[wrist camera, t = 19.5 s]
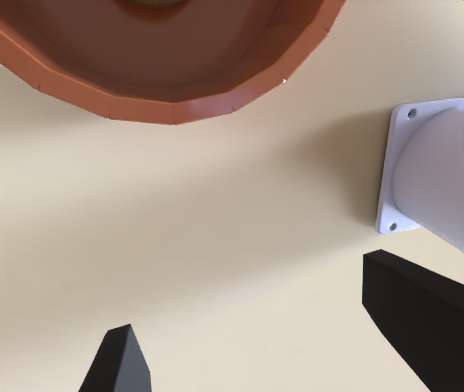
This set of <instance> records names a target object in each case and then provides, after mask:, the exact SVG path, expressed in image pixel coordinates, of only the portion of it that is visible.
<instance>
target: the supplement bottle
mask: <svg viewBox="0 0 464 392" xmlns="http://www.w3.org/2000/svg"><path fill="white" fill-rule="evenodd" d="M126 1H128V2H131V3H134V4H136V5H140V6H146V7H167V6H172V5H175V4H178V3H181V2H183V1H185V0H126Z"/></svg>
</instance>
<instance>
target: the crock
mask: <svg viewBox="0 0 464 392" xmlns="http://www.w3.org/2000/svg"><path fill="white" fill-rule="evenodd" d="M345 2H346V0H185V1H183V2H181V3H178V4H175V5H172V6H167V7H146V6H140V5H136V4H134V3H131V2H128V1H126V0H0V63H1V64H2V65H3V66H5V67H6V68H7V69H9V70H10V71H11V72H13V73H14V74H15V75H17V76H18V77H19V78H21V79H22V80H23V81H25V82H26V83H27V84H29V85H30V86H32V87H33V88H34V89H36V90H37V89H38V91H40V92H42V93H45V94H47V95H49V96H52V97H54V98H57V99H59V100H62V101H64V102H67V103H69V104H72V105H74V106H77V107H79V108H82V109H84V110H87V111H89V112H92V113H94V114H97V115H99V116H102V117H104V118H109V119H111V120H121V121H132V122H142V123H153V124H163V125H180V124H184V123H189V122H193V121H198V120H202V119H207V118H212V117H216V116H221V115H225V114H230V113H233V112H235V111H237V110H239V109H241V108H242V107H244V106H246V105H247V104H249V103H251V102H252V101H254V100H256V99H258V98H259V97H261V96H263V95H264V94H266V93H268V92H269V91H271V90H273V89H274V88H276V87H278V86H280V85H281V84H283V83H284V82H285V81H286V80H287V79H288V78H289V77H290V76H291V75H292V74H293V73H294V72H295V71H296V70H297V68H298V67H299V66H300V65H301V64H302V63H303V62H304V61H305V60H306V59H307V58H308V56H309V55H310V54H311V53H312V52H313V51H314V50H315V49H316V48H317V47H318V46H319V44H320V43H321V42H322V41H323V40H324V39H325V38H326V37H327V35H328V34H327V33H329V32H330V31H331V29H332V27H333V25H334V23H335V21H336V19H337V17H338V15H339V13H340V11H341V9H342V8H343V6H344V4H345Z"/></svg>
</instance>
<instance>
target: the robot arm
mask: <svg viewBox="0 0 464 392" xmlns="http://www.w3.org/2000/svg"><path fill="white" fill-rule="evenodd" d="M410 110H411V113H410V115H409V116H408V112H409V111H410ZM391 224H392V225H391ZM390 225H391V226H390ZM389 226H390V227H389ZM420 227H424V228H426V229H427V230H429V231H431V232H432V233H434V234H435V235H437V236H439V237H440V238H442V239H443V240H445V241H446V242H448V243H450V244H451V245H453V246H454V247H456V248H458V249H459V250H461V251H462V252H464V97H461V98H452V99H443V100H435V101H426V102H417V103H409V104H401V105H398V106H396V107H395V108H394V110H393V111H392V114H391V121H390V128H389V134H388V141H387V148H386V155H385V162H384V169H383V176H382V183H381V190H380V197H379V204H378V211H377V218H376V225H375V230H376V231H377V232H378V233H379V234H381V235H385V234H390V233H395V232H400V231H405V230H410V229H415V228H420ZM362 304H363V306H364V307H365V309H366V310H367V312H368V314H369V315H370V317H371V318H372V320H373V321H374V323H375V324H376V326H377V327H378V329H379V330H380V332H381V333H382V334H383V335H384V337H385V338H386V339H387V340H388V342H389V343H390V344H391V345H392V346H393V347H394V349H395V350H396V351H397V352H398V353H399V355H400V356H401V357H402V358H403V359H404V361H405V362H406V363H407V364H408V365H409V366H410V368H411V369H412V370H413V371H414V372H415V374H416V375H417V376H418V377H419V378H420V379H421V381H422V382H423V383H424V384H425V385H426V386H427V388H428V389H429V390H430V391H431V392H464V285H463V284H461V283H459V282H456V281H454V280H452V279H449V278H447V277H445V276H442V275H440V274H438V273H435V272H433V271H431V270H428V269H426V268H424V267H422V266H419V265H417V264H415V263H413V262H410V261H408V260H406V259H404V258H401V257H399V256H397V255H394V254H392V253H389V252H387V251H384V250H382V249H380V250H376V251H373V252H370V253H366V254H363V286H362ZM78 392H152V390H151V379H150V371H149V368H148V366H147V364H146V361H145V359H144V356H143V354H142V351H141V349H140V346H139V344H138V342H137V339H136V337H135V334H134V332H133V329H132V327H131V324H128V325H124V326H121V327H118V328H114V329H111V330H108V331H107V333H106V334H105V336H104V338H103V341H102V343H101V345H100V347H99V349H98V352H97V354H96V356H95V358H94V360H93V363H92V365H91V367H90V369H89V371H88V373H87V375H86V377H85V379H84V381H83V383H82V385H81V387H80V389H79V391H78Z"/></svg>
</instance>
